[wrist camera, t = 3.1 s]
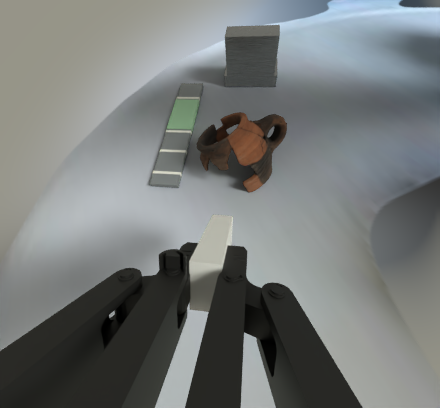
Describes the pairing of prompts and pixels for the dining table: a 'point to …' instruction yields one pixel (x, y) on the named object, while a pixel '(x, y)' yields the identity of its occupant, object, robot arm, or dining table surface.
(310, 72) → the dining table surface
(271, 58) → the striated grey slab
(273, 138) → the pottery mug
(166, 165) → the gauge strip
